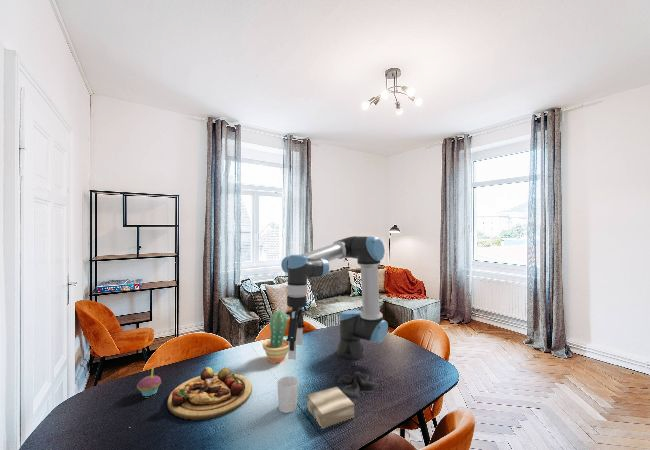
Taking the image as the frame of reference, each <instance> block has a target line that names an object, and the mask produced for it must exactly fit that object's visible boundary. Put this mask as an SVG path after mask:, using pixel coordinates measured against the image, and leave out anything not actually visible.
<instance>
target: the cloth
mask: <svg viewBox="0 0 650 450" xmlns="http://www.w3.org/2000/svg"><path fill="white" fill-rule="evenodd" d="M370 379H371V376H370V375H369V374H367V373H361V372H360V371H354V373H353V374H352V375H350V374H343V375H341V376H340V377H339V378H338V380H337V383H343V384H345V386H343V387H342V389H341V391H342V392H343V393H344V394H345V395H346V396H347V397H350V396H351V398H354V397H355V398H354V399H360V398H361V395H360V392H361V390H363V391H364V394H365V395H368V394H370V395H371V394H373V393H375V391H374V390H375V389H377V388H378V387H379V386H380V384H379V383H378V382H374V381H369V380H370ZM346 384H347V385H346Z"/></svg>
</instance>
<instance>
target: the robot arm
mask: <svg viewBox="0 0 650 450" xmlns="http://www.w3.org/2000/svg"><path fill="white" fill-rule="evenodd" d="M385 251H386V250H385V245H384V242H383V241H382V239H380V238H379V237H378V236H356V235H355V236H347V237H345V238H342V239H338V240H336V241H333V243H332V244H330V245H326V246H323V247H321V248H317V249H314V250H311V251H308V252H305V253H302V254H301V253H300V254H291V255H287V256H285V257H284V258H283V259H282V260H281V269H282V272H284V273H286V274H287V285H286V287H285V288H286V289H287V291H286V292H287V297H286V305H287V307H289V308H291V311H290V312H289V320H288V321H289V322H288V331H287V338H285V339H286V341H289V346H288V353H287V360H297V346H302V345H303V331H304V330H303V328H304V329H305V326H306V325H305V323H304V311H303V308H304V307H307V304H308V303H307V301H308V300H307V299H308V298H307V295H308V279H314V278H322V277H325V276H327V275H328V274H329V272H330V264H329V262H332V261H334V260H336V259H338V260H343V259H356V260H357V261H356V262H357V265H359V266H360V279H361V283H360V284H361V299H362V301H361V304H362V311H361V310H357V309H349V310H345V311H342V312H341V313H340V315H339V341H338V343H337V347H336V355H337V356H338V357H339V358H342V359H345V360H358V359H362V358H363V357H364V356H365V347H364V344H363V342H362V340H365V341H368V342H371V343H375V344H381V343H382V342H383V341H384V340H385V339H386V338H387V337H386V336H387V334H388V329H389V324H388V322H387V321H386V320H385V319H384V316H383V313H382V312H381V311H380V293H379V291H380V289H379V268H378V266H379V265H380V264H381V261H382V260H383V259H384V257H385Z"/></svg>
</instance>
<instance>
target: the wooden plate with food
mask: <svg viewBox="0 0 650 450" xmlns="http://www.w3.org/2000/svg"><path fill="white" fill-rule="evenodd" d="M252 391H253V386H252V384H251V381H250V380H249V379H248V378H247V377H246V376H244V375H241V374H238V373H233V372H232V370H231V369H230V368H228V367H226V366H224V367H223V368H221V369H219V371H218V372H214V369H213V368H212V367H209V366H205V367H204V368H203V369H202V371H201V372H200V375H198V376H195V377H192V378H190V379H188V380H187V381H184V382H182V383H181V384H179V385H178V386H177V387H175V388H174V389H173V390H172V391H171V392H170V394H169V396H168V398H167V403H166V404H167V409H168V410H169V412H170V413H171V414H172V415H173V414H174V415H173V416H175V417H177V416H178V417H177V418H179V417H181V418H180V419H182V418H184V419H183V420H187V419H191V420H190V421H202V420H201V419H206V420H210V419H209V418H212V419H216V418H219V416H220V417H223V416H225V414H226V415H228V414H230V413H233V412H234V411H237V410H238V409H239V408H240V407H242V406H243V405H244V404H246V403H247V401H248V400H249V399H250V396H251V395H252ZM241 405H242V406H241ZM237 408H238V409H237ZM229 412H230V413H229ZM227 413H228V414H227ZM222 415H223V416H222ZM215 417H216V418H215Z"/></svg>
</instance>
